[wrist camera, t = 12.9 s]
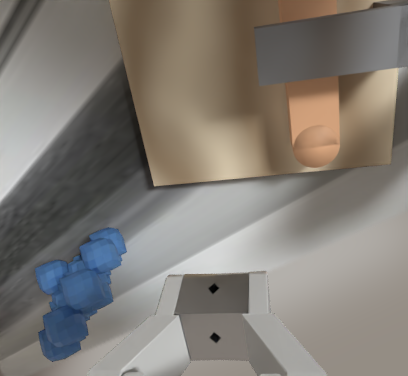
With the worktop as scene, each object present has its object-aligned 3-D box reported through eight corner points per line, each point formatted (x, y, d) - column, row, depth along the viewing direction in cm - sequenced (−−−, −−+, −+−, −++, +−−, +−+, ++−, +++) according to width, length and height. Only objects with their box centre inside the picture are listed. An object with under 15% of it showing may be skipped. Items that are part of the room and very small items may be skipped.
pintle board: (409, -195, 20) (471, -264, 14) (384, 156, 29) (416, 195, 23) (88, -118, 22) (37, -152, 17) (158, 178, 32) (139, 217, 26)
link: (264, -94, 21) (265, -102, 19) (331, -110, 20) (340, -121, 18) (287, 158, 28) (290, 171, 26) (338, 152, 27) (345, 164, 25)
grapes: (84, 177, 32) (5, 269, 22) (155, 210, 33) (113, 314, 23) (51, 268, 38) (-24, 376, 27) (113, 294, 39) (63, 409, 28)
